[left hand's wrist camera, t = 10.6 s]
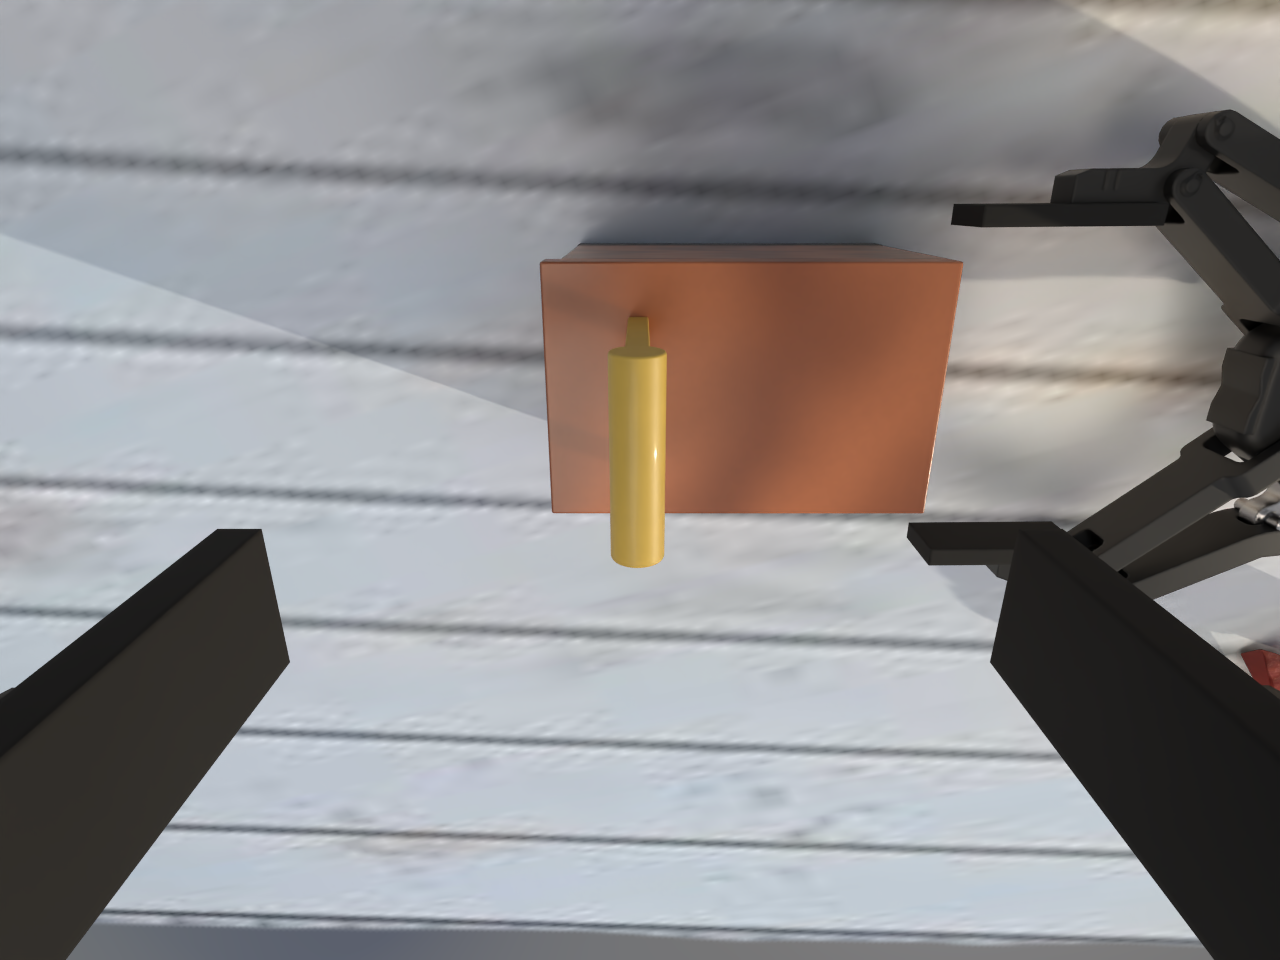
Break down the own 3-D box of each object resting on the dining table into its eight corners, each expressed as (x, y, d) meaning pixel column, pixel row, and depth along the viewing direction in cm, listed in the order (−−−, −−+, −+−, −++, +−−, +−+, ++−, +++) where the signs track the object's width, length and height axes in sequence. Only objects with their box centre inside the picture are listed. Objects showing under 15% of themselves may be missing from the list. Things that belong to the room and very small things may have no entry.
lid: (555, 501, 28) (521, 620, 20) (543, 259, 25) (498, 287, 17) (913, 502, 28) (1020, 620, 20) (950, 259, 25) (1094, 287, 17)
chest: (585, 434, 37) (569, 501, 28) (579, 243, 33) (559, 258, 25) (853, 434, 37) (913, 501, 28) (874, 243, 33) (950, 258, 25)
